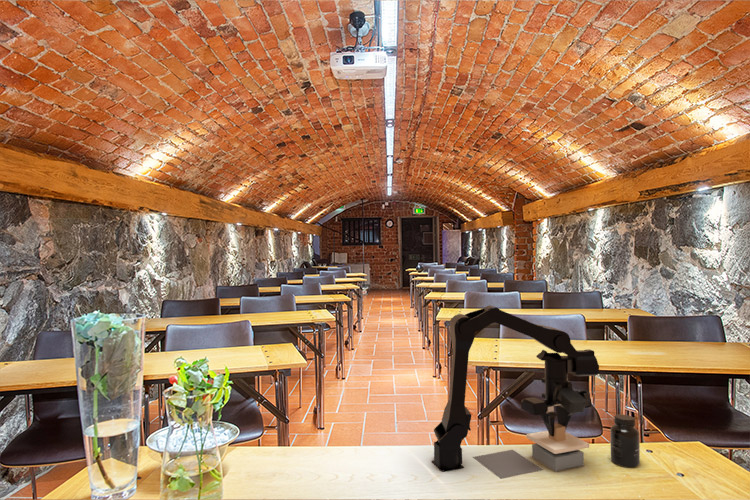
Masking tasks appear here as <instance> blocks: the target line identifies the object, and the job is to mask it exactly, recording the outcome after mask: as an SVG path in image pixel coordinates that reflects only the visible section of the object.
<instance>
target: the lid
mask: <svg viewBox="0 0 750 500" xmlns="http://www.w3.org/2000/svg"><path fill="white" fill-rule="evenodd" d="M566 430H567V428H566V427H565V426H563V425H561V424H559V423H558V422H554V436H553V437H552V436H550V434H549V432H548V430H542V431H537V432H531V433H527V434H526V439H528V440H530V441H531V442H533V443H534V444H538V445H540V446H542V447H543V448H545V449H547V450H549V451H550V452H552V453H554V454H558V453H564V452H569V451H574V450H584V449H589V448H590V443H589V442H587V441H586V440H585V441H584V440H583V439H581V438H579V437H577V436H574V435H573V434H570V433H569V432H566Z"/></svg>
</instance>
